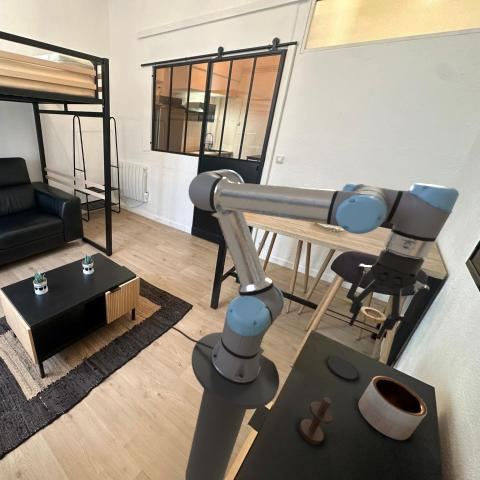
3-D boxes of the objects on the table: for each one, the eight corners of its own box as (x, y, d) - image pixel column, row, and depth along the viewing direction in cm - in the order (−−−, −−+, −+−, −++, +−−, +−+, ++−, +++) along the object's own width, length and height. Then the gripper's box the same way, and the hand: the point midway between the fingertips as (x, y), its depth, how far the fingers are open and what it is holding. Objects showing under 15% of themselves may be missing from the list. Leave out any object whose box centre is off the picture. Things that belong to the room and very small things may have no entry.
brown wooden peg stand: (296, 432, 62) (312, 398, 57) (303, 418, 66) (318, 385, 61) (318, 449, 59) (337, 416, 54) (324, 434, 62) (342, 401, 57)
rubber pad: (324, 367, 81) (324, 366, 81) (331, 354, 86) (331, 353, 86) (353, 385, 76) (354, 383, 76) (359, 370, 81) (359, 368, 81)
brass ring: (356, 314, 66) (358, 311, 65) (361, 306, 69) (363, 303, 69) (382, 326, 62) (384, 323, 62) (386, 317, 66) (388, 314, 65)
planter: (414, 451, 60) (434, 427, 57) (359, 424, 65) (375, 400, 61) (403, 413, 69) (420, 389, 65) (355, 391, 74) (369, 368, 70)
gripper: (352, 242, 62) (322, 316, 71) (461, 274, 50) (408, 359, 59) (360, 236, 67) (330, 306, 76) (461, 263, 55) (412, 344, 64)
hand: (364, 329), depth 68 cm, fingers closed on brass ring, 5 cm apart
